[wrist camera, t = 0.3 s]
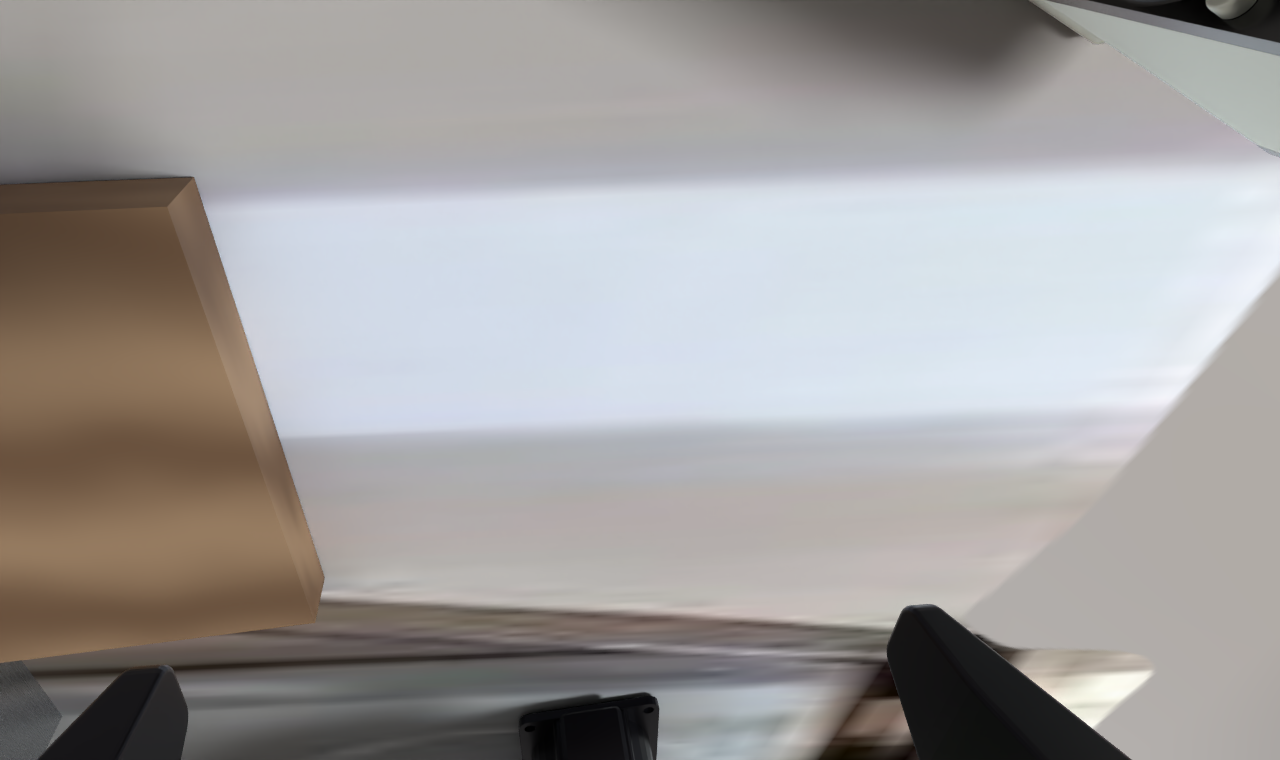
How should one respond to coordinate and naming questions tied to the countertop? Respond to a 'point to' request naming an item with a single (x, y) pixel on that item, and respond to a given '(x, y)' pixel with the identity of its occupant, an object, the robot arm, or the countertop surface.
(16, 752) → the block
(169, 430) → the stand
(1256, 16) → the pneumatic valve
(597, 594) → the countertop surface
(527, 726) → the robot arm
